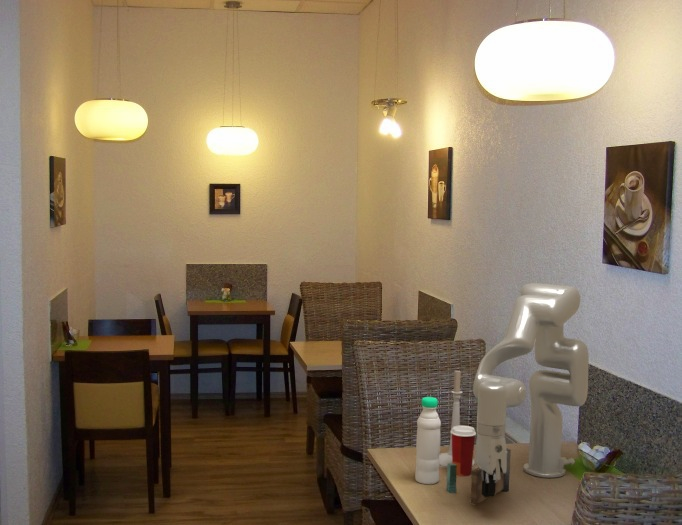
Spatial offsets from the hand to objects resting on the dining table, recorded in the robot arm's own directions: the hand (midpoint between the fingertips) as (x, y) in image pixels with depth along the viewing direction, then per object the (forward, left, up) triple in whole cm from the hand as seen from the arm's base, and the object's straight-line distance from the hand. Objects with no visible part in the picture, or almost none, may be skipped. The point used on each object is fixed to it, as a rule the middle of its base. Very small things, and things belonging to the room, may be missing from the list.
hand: (488, 495), depth 219 cm
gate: (-4, -8, -4) cm, 10 cm away
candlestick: (-8, -40, -5) cm, 41 cm away
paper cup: (-6, -30, -5) cm, 31 cm away
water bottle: (+7, -26, -5) cm, 27 cm away
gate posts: (-5, -15, -5) cm, 16 cm away
